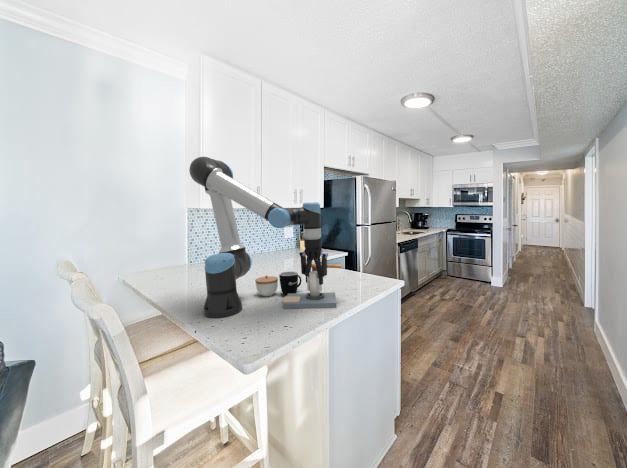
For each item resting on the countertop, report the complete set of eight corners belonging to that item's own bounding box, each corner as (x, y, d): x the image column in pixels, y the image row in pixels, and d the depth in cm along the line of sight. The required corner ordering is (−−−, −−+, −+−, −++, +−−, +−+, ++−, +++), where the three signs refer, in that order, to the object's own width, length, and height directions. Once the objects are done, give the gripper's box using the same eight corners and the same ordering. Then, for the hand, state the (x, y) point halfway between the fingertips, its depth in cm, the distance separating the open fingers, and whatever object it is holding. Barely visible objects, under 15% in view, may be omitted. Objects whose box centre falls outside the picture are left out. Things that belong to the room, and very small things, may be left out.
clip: (310, 267, 124) (309, 264, 124) (312, 266, 127) (312, 263, 127) (340, 268, 119) (340, 266, 119) (342, 267, 122) (342, 264, 122)
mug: (287, 298, 128) (286, 276, 127) (276, 294, 134) (275, 273, 133) (307, 292, 135) (306, 272, 135) (296, 288, 142) (295, 269, 141)
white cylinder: (309, 298, 119) (308, 273, 118) (310, 295, 123) (309, 271, 122) (319, 298, 119) (318, 273, 118) (320, 295, 123) (319, 271, 122)
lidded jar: (254, 293, 138) (253, 274, 137) (275, 290, 141) (274, 272, 140) (258, 299, 128) (257, 279, 127) (280, 295, 131) (279, 276, 130)
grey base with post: (282, 308, 114) (280, 275, 113) (287, 297, 128) (285, 267, 127) (336, 307, 113) (335, 273, 112) (335, 296, 127) (334, 266, 126)
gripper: (334, 237, 117) (336, 291, 119) (301, 236, 127) (303, 286, 129) (325, 239, 111) (327, 296, 113) (291, 238, 120) (293, 290, 122)
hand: (314, 290), depth 121 cm, fingers closed on white cylinder, 4 cm apart
